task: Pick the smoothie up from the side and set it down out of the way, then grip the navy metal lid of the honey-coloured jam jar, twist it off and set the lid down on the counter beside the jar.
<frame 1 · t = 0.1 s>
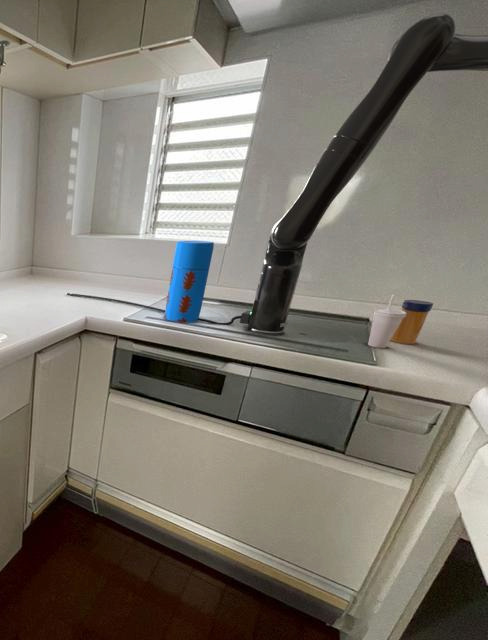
thermos: (181, 319, 137), on the countertop
smoothie: (376, 346, 110), on the countertop
jam lid: (418, 303, 109), point 11 cm above the countertop, screwed on, not yet turned
jam jar: (402, 341, 113), on the countertop
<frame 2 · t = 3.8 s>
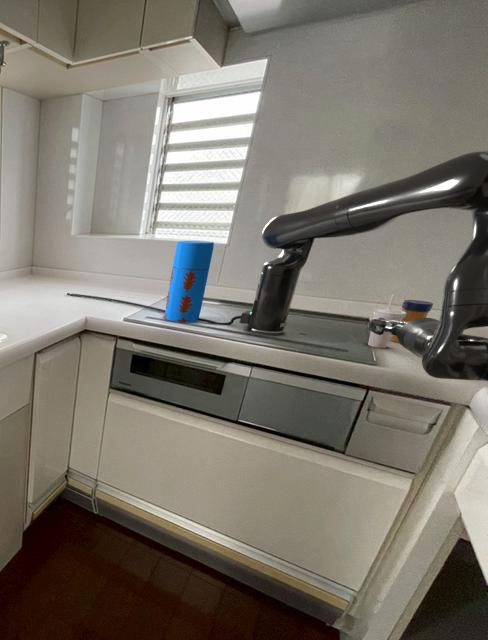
hand: (402, 323, 98), 9 cm above the countertop, tool horizontal, fingers open, 8 cm apart
nothing on the countertop moved.
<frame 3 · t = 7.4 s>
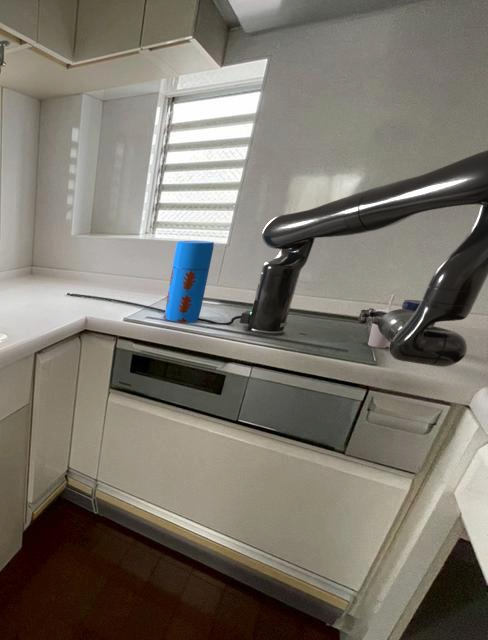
hand: (386, 313, 108), 9 cm above the countertop, tool horizontal, fingers closed on smoothie, 6 cm apart
smoothie: (376, 346, 110), on the countertop, touching gripper
everything else where it was.
when the fingers open (8 cm above the countertop, at t = 14.4 s): smoothie stays where it is, on the countertop.
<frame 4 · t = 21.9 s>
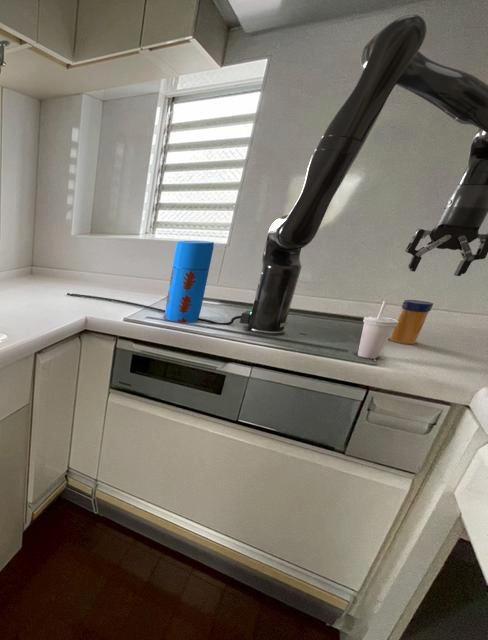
hand: (433, 273, 105), 19 cm above the countertop, tool pointing down, fingers open, 8 cm apart
smoothie: (366, 356, 102), on the countertop
everything else where it was.
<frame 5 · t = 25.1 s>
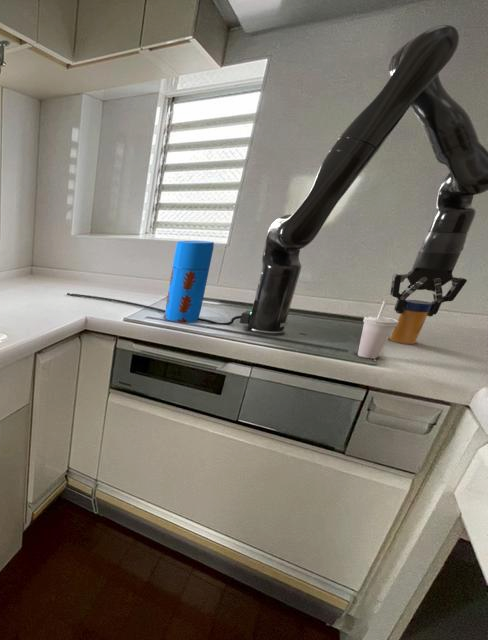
hand: (413, 314, 110), 8 cm above the countertop, tool pointing down, fingers closed on jam lid, 5 cm apart
jam lid: (418, 303, 109), point 11 cm above the countertop, screwed on, not yet turned, touching gripper
everything else where it was.
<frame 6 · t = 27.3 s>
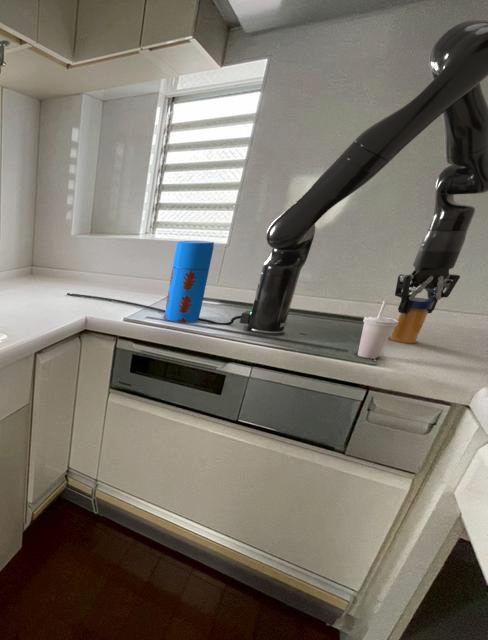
hand: (414, 312, 111), 8 cm above the countertop, tool pointing down, fingers closed on jam lid, 5 cm apart
jam lid: (419, 300, 109), point 11 cm above the countertop, off its thread, touching gripper, jam jar
jam jar: (402, 340, 114), on the countertop, touching gripper, jam lid
everything else where it was.
when the fingers open (2 cm above the countertop, at t = 35.2 s): jam lid drops 3 cm, point 2 cm above the countertop.
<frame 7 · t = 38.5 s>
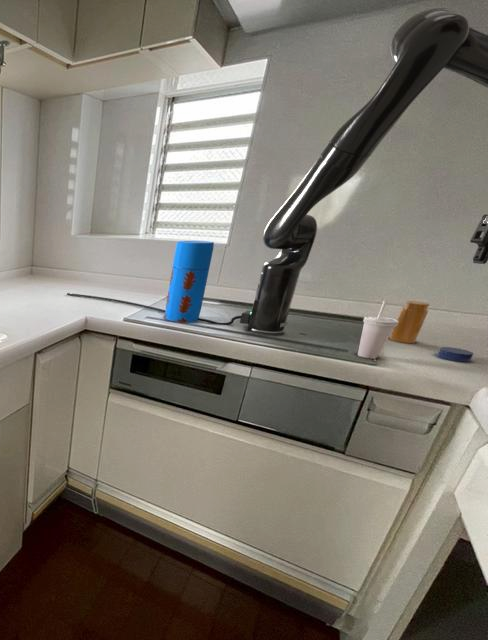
jam lid: (456, 351, 100), point 2 cm above the countertop, off its thread
jam jar: (402, 340, 114), on the countertop
everything else where it was.
at the end: jam lid inside the target area (0.1 cm from its centre), point 1.7 cm above the countertop; the gripper is holding nothing; smoothie inside the target area (0.1 cm from its centre), on the countertop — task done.
